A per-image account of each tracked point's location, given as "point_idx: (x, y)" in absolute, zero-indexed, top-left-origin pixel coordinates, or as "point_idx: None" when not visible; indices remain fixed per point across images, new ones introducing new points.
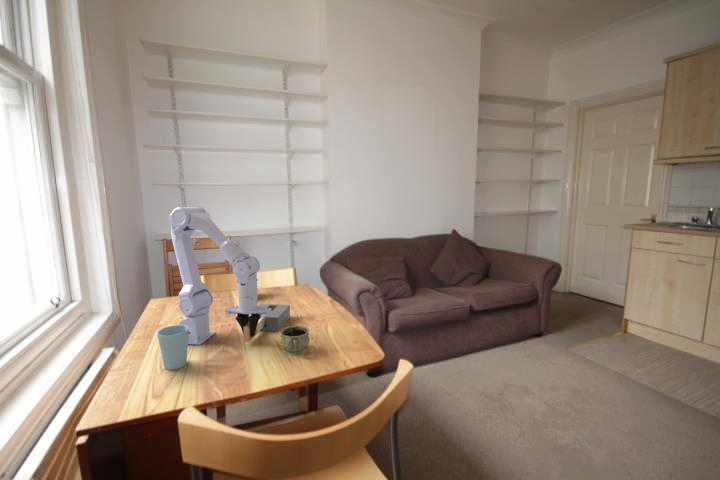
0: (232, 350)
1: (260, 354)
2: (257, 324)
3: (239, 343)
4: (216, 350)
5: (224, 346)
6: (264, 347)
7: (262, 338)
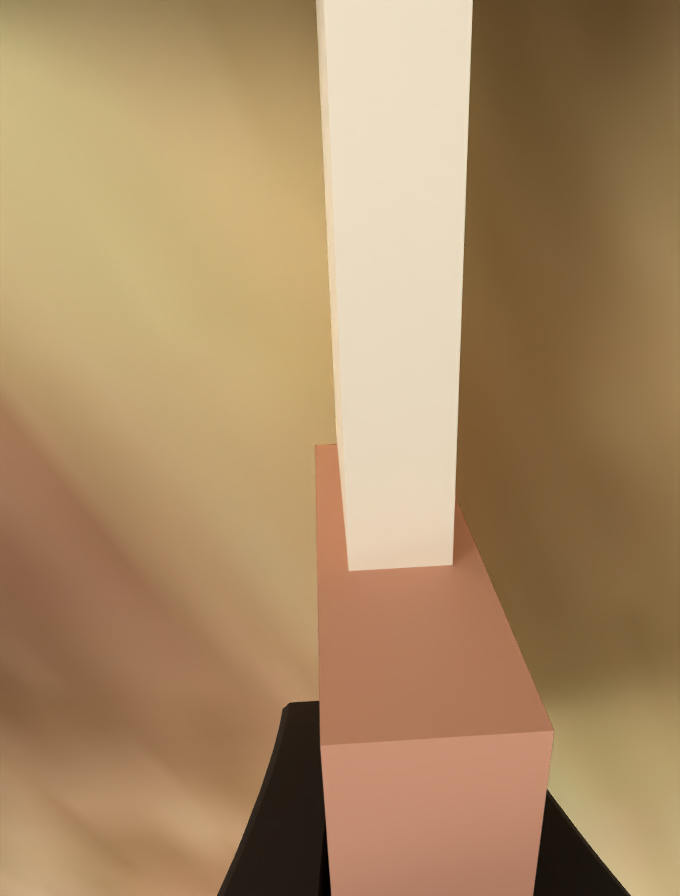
0: (230, 832)
1: (649, 851)
2: (447, 463)
3: (199, 659)
4: (12, 863)
5: (31, 768)
6: (658, 704)
7: (529, 425)
